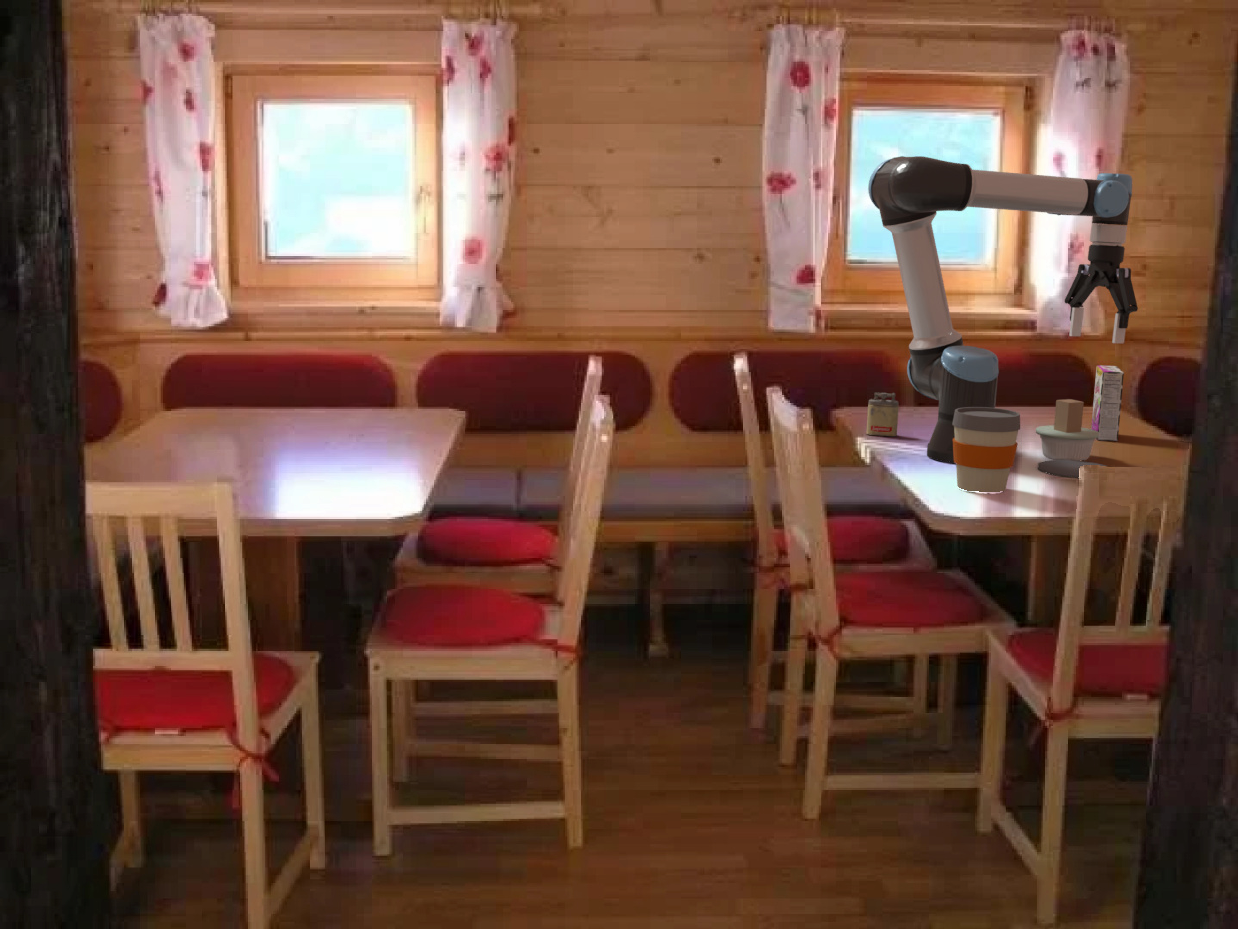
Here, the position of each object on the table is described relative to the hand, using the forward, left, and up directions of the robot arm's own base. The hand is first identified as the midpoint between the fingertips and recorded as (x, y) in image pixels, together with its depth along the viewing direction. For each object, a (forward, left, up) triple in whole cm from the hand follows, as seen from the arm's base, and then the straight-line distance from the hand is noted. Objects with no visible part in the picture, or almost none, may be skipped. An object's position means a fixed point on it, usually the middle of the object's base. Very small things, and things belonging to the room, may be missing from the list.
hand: (1096, 339), depth 304 cm
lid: (-15, -11, -19) cm, 27 cm away
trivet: (-23, -24, -24) cm, 41 cm away
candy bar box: (+11, +7, -24) cm, 27 cm away
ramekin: (-15, -11, -24) cm, 31 cm away
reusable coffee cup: (-53, -33, -24) cm, 67 cm away
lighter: (-40, +23, -24) cm, 52 cm away
